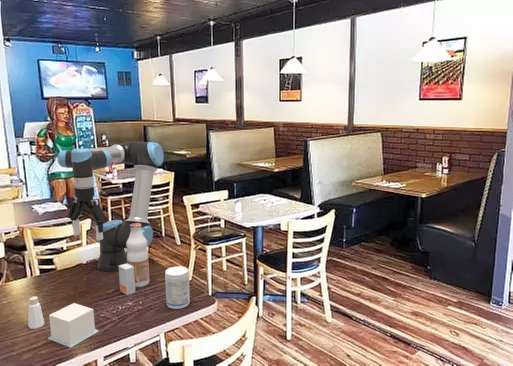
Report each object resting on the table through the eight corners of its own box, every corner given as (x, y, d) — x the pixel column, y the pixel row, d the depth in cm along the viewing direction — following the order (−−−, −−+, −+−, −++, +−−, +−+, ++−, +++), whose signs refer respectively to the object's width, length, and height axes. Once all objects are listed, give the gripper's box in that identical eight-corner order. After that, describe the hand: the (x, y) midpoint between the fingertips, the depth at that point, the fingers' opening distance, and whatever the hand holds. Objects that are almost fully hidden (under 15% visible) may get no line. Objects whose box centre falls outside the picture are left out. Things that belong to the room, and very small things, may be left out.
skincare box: (119, 291, 186) (118, 265, 183) (128, 288, 189) (126, 262, 186) (127, 295, 181) (125, 269, 179) (135, 292, 185) (134, 266, 182)
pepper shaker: (27, 330, 154) (24, 302, 152) (28, 323, 159) (25, 296, 157) (44, 327, 156) (41, 299, 154) (45, 320, 161) (42, 293, 159)
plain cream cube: (76, 325, 157) (74, 302, 156) (95, 331, 153) (93, 309, 151) (51, 338, 148) (49, 314, 147) (71, 345, 144) (68, 321, 142)
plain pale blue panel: (76, 323, 159) (76, 322, 159) (99, 331, 153) (99, 330, 153) (47, 338, 148) (47, 338, 148) (70, 347, 143) (70, 347, 143)
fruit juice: (124, 287, 190) (120, 226, 185) (134, 278, 199) (130, 221, 194) (144, 288, 188) (140, 227, 183) (153, 280, 197) (150, 222, 192)
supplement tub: (169, 299, 178) (167, 265, 175) (191, 299, 178) (190, 265, 175) (164, 310, 168) (162, 275, 166) (187, 309, 168) (186, 275, 166)
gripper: (55, 186, 174) (60, 235, 177) (98, 191, 162) (102, 244, 166) (71, 182, 180) (75, 230, 184) (113, 188, 168) (117, 239, 172)
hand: (88, 237), depth 175 cm, fingers open, 13 cm apart
